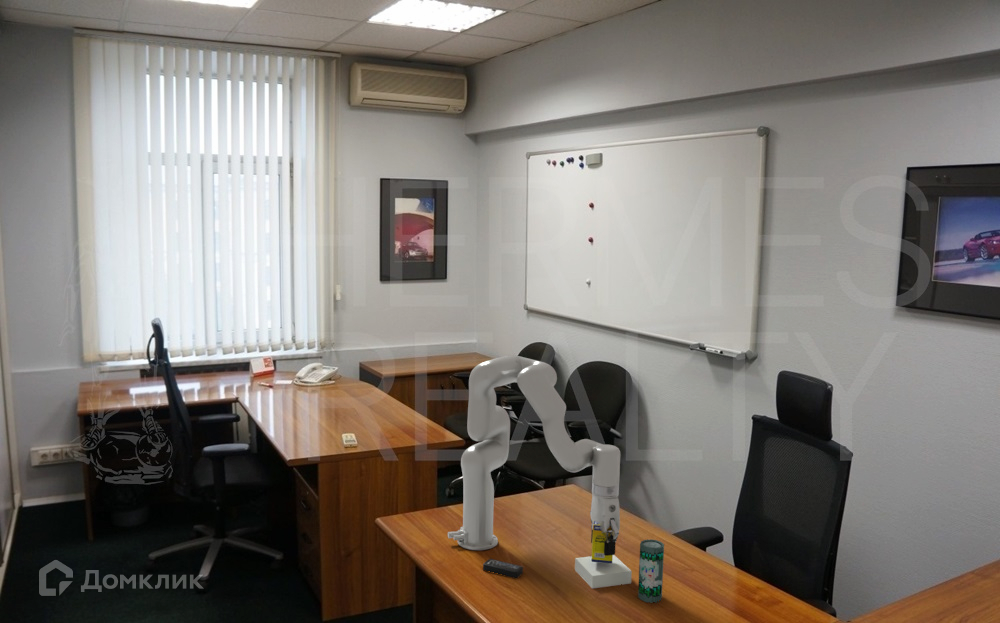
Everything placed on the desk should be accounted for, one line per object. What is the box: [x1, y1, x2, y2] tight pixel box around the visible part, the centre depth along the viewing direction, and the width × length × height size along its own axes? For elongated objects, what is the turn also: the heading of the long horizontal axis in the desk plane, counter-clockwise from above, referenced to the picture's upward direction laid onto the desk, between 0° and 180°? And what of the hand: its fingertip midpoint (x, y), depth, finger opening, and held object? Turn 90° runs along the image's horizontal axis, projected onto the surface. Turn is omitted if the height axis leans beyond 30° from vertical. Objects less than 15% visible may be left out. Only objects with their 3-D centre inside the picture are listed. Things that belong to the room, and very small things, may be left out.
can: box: [637, 538, 665, 604], centre depth 207 cm, size 6×6×15 cm
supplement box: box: [591, 521, 613, 563], centre depth 218 cm, size 6×6×11 cm
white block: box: [574, 554, 633, 589], centre depth 219 cm, size 12×12×4 cm
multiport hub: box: [482, 558, 524, 579], centre depth 221 cm, size 4×11×2 cm, turn 63°
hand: (602, 548), depth 219 cm, fingers closed on supplement box, 7 cm apart
